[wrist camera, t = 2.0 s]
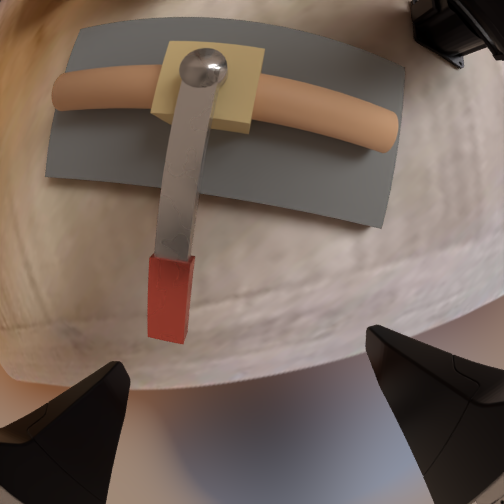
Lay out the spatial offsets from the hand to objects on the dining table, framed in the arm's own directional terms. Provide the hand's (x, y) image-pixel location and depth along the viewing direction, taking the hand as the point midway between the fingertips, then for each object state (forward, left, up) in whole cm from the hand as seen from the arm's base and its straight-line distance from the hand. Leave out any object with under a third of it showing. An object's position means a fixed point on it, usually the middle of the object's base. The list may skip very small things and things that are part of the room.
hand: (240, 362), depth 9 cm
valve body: (+4, -11, -13) cm, 18 cm away
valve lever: (+4, -4, -7) cm, 9 cm away
